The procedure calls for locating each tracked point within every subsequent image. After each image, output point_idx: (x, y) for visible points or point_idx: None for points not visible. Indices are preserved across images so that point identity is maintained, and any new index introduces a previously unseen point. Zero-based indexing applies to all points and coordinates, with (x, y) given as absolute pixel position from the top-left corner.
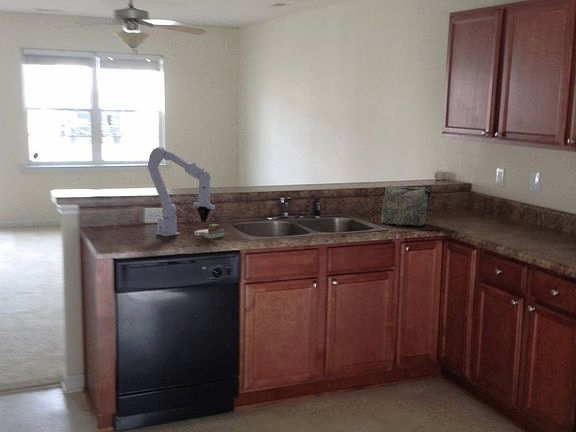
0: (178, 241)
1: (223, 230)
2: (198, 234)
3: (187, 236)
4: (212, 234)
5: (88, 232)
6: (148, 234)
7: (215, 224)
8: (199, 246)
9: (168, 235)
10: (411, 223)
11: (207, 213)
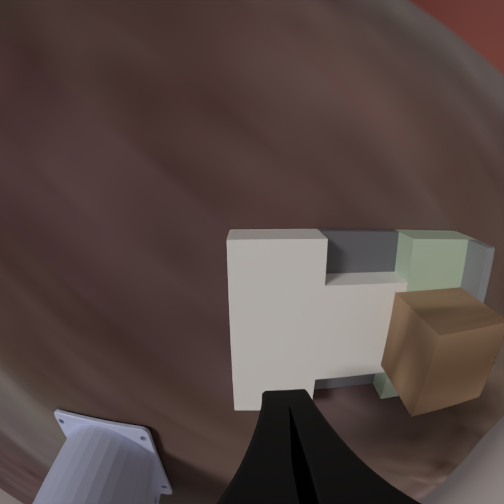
0: None
1: (487, 251)
2: None
3: (244, 438)
4: None
5: (17, 498)
6: None
7: (467, 343)
8: (453, 465)
9: (169, 484)
10: None
11: (369, 497)
